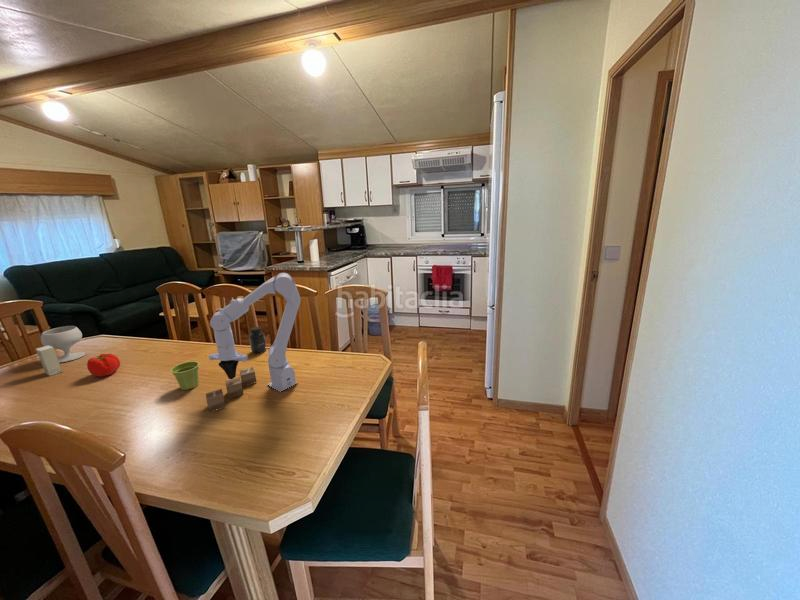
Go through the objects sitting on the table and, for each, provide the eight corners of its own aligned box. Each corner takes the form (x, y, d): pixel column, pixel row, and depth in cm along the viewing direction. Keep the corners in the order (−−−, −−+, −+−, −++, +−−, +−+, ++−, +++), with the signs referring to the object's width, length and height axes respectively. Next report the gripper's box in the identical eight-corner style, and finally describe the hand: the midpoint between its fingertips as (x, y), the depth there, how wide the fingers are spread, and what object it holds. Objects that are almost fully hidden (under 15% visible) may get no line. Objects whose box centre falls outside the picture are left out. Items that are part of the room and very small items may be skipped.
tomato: (94, 382, 134) (87, 363, 131) (88, 375, 140) (82, 357, 138) (125, 372, 142) (120, 354, 139) (118, 365, 148) (113, 348, 146)
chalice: (61, 354, 163) (51, 327, 159) (94, 350, 167) (85, 323, 163) (41, 366, 150) (29, 337, 146) (77, 361, 154) (67, 332, 150)
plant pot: (190, 393, 122) (185, 373, 120) (169, 391, 124) (164, 371, 122) (208, 381, 131) (204, 361, 129) (189, 379, 133) (184, 360, 131)
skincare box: (63, 371, 144) (54, 347, 141) (49, 376, 141) (39, 351, 137) (58, 369, 147) (49, 344, 144) (44, 373, 144) (35, 348, 140)
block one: (225, 407, 113) (222, 394, 111) (209, 412, 110) (206, 399, 109) (224, 400, 117) (221, 388, 115) (208, 405, 114) (205, 393, 113)
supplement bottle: (263, 354, 155) (259, 330, 152) (249, 354, 155) (245, 331, 152) (268, 348, 161) (265, 325, 158) (255, 348, 162) (251, 326, 158)
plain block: (243, 394, 120) (241, 382, 119) (228, 398, 118) (226, 386, 117) (241, 388, 125) (239, 377, 123) (227, 392, 122) (225, 381, 121)
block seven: (256, 382, 129) (254, 371, 127) (243, 386, 126) (240, 375, 125) (254, 377, 133) (252, 366, 131) (241, 381, 130) (239, 370, 129)
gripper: (250, 340, 118) (256, 373, 122) (215, 339, 121) (222, 371, 125) (237, 348, 112) (244, 383, 115) (201, 346, 114) (209, 380, 118)
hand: (232, 377), depth 119 cm, fingers closed
